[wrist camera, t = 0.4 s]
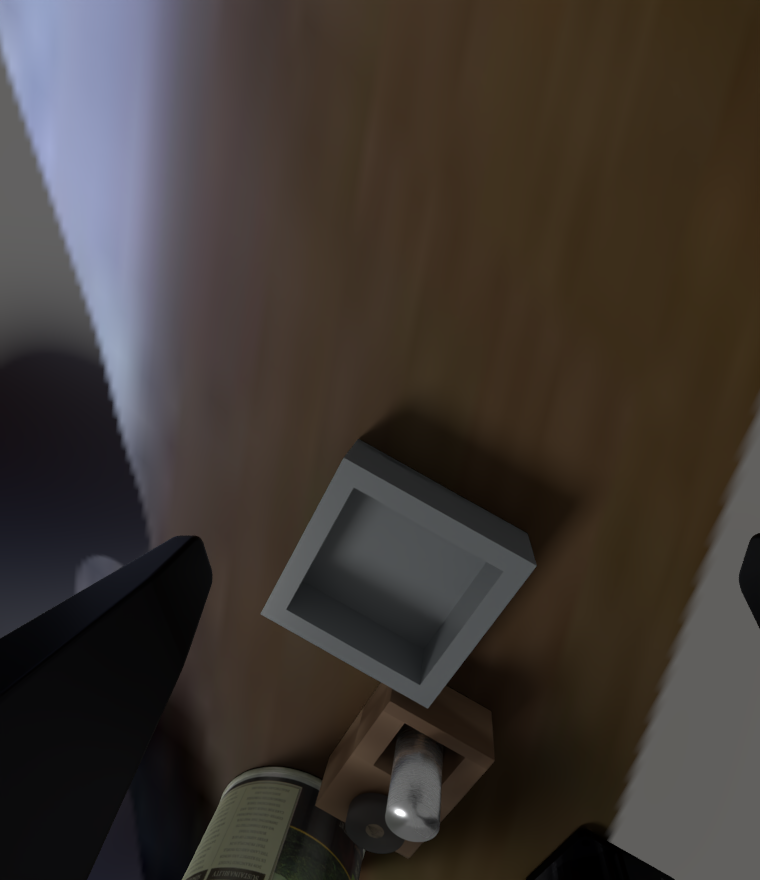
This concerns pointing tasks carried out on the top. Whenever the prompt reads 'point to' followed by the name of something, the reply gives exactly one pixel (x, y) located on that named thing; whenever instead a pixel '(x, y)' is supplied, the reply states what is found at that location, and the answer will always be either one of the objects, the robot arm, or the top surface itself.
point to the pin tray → (399, 574)
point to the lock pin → (415, 786)
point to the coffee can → (274, 833)
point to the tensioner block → (372, 753)
